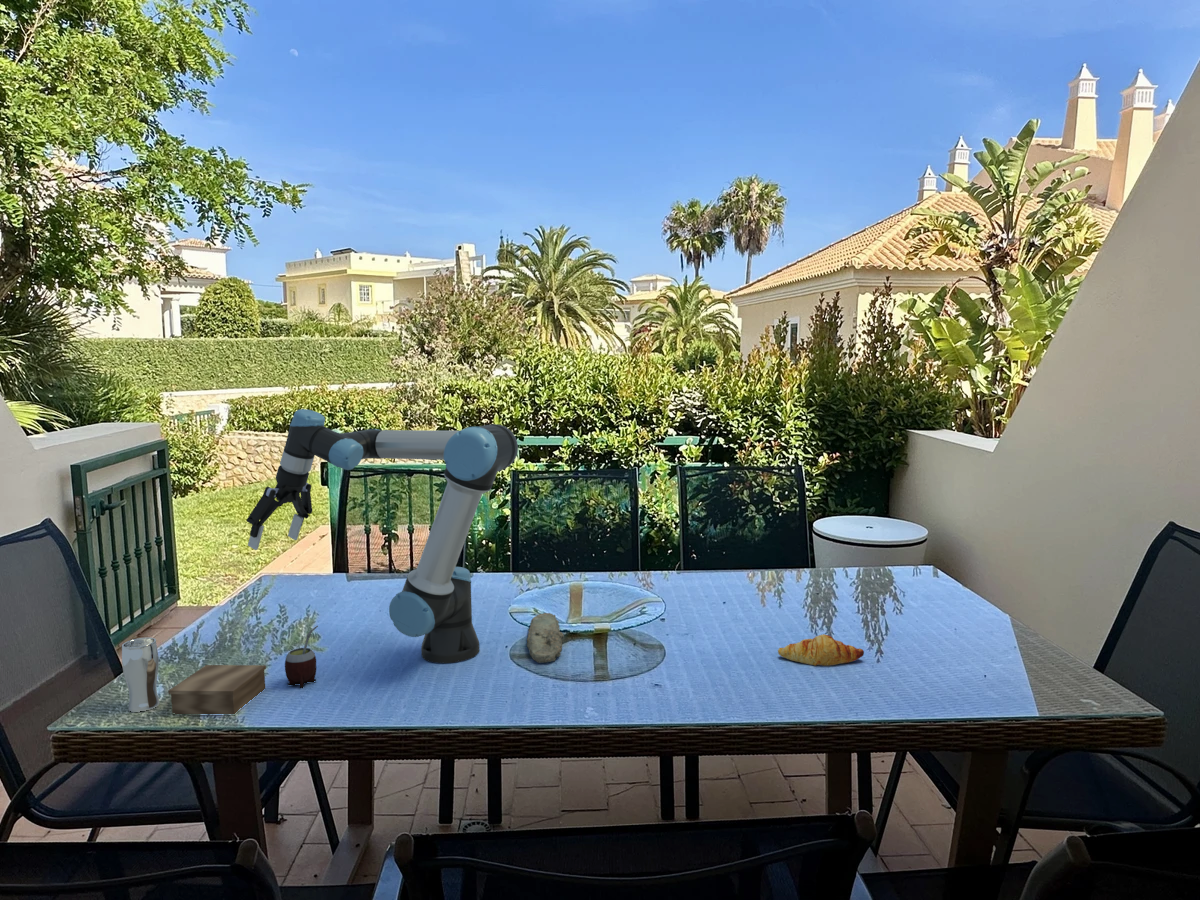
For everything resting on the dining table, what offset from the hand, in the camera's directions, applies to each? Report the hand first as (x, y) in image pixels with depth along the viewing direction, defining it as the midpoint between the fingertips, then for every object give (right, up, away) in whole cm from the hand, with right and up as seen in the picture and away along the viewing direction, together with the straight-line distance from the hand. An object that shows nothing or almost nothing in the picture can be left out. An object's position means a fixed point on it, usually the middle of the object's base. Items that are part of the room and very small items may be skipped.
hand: (273, 542), depth 199 cm
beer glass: (-17, -34, -27) cm, 47 cm away
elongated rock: (+70, -29, +11) cm, 77 cm away
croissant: (+142, -30, -5) cm, 145 cm away
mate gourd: (+14, -32, -15) cm, 38 cm away
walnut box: (-1, -34, -25) cm, 42 cm away
